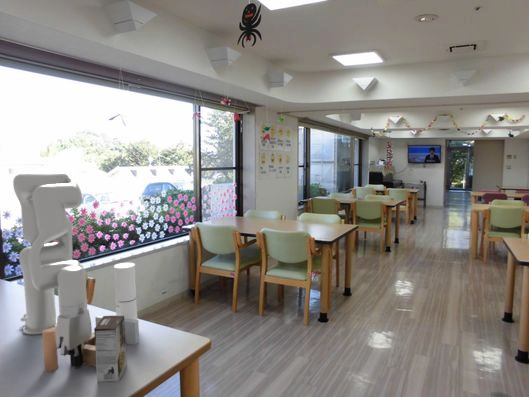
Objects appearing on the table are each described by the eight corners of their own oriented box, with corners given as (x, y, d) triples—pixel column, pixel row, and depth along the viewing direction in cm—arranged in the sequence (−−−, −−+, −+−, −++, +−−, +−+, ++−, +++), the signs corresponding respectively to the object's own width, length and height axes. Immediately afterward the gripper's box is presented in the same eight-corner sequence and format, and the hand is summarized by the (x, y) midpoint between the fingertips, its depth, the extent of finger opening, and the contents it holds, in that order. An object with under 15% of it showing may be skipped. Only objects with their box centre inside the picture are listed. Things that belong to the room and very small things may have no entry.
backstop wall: (96, 338, 140) (95, 317, 139) (100, 336, 142) (99, 314, 141) (135, 344, 135) (134, 322, 134) (139, 342, 137) (138, 320, 136)
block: (71, 361, 125) (70, 346, 124) (93, 346, 134) (93, 332, 134) (98, 366, 122) (97, 350, 121) (119, 350, 132) (118, 336, 131)
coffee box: (106, 365, 122) (103, 315, 121) (127, 364, 123) (125, 314, 121) (96, 382, 113) (93, 328, 112) (119, 381, 114) (116, 327, 112)
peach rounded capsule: (41, 370, 120) (39, 332, 118) (51, 364, 123) (48, 327, 122) (51, 372, 119) (48, 334, 117) (60, 366, 122) (58, 329, 121)
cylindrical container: (131, 336, 141) (128, 268, 139) (113, 335, 143) (109, 267, 140) (141, 328, 148) (138, 263, 145) (124, 326, 150) (120, 262, 147)
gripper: (81, 297, 126) (84, 352, 128) (42, 316, 112) (47, 377, 114) (101, 300, 124) (104, 355, 126) (64, 319, 110) (68, 381, 112)
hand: (77, 365), depth 120 cm, fingers closed
